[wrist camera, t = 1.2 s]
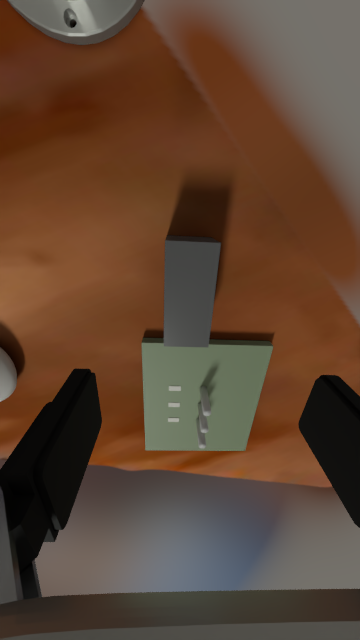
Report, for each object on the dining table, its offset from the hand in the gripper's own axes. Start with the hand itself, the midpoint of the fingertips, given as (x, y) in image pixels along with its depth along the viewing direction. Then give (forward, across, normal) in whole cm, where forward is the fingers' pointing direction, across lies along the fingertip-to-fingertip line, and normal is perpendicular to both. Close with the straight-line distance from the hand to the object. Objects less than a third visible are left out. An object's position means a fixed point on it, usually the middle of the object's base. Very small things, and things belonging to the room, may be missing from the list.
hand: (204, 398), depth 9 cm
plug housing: (+16, 0, 0) cm, 17 cm away
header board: (+17, -3, +17) cm, 24 cm away
